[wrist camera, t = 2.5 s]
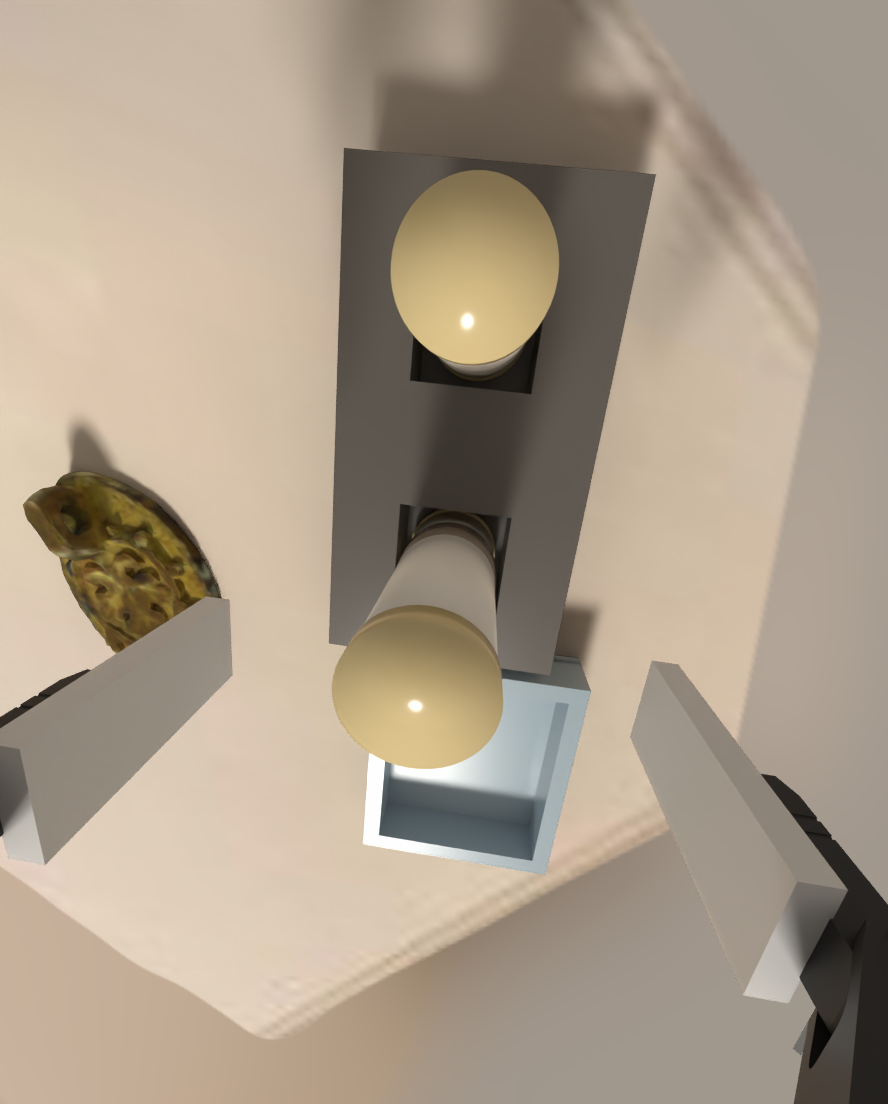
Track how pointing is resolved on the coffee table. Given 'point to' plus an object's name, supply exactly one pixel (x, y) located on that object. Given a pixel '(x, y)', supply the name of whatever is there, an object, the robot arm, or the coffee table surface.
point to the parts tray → (490, 781)
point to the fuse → (475, 271)
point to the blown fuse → (428, 651)
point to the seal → (119, 555)
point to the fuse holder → (476, 398)
